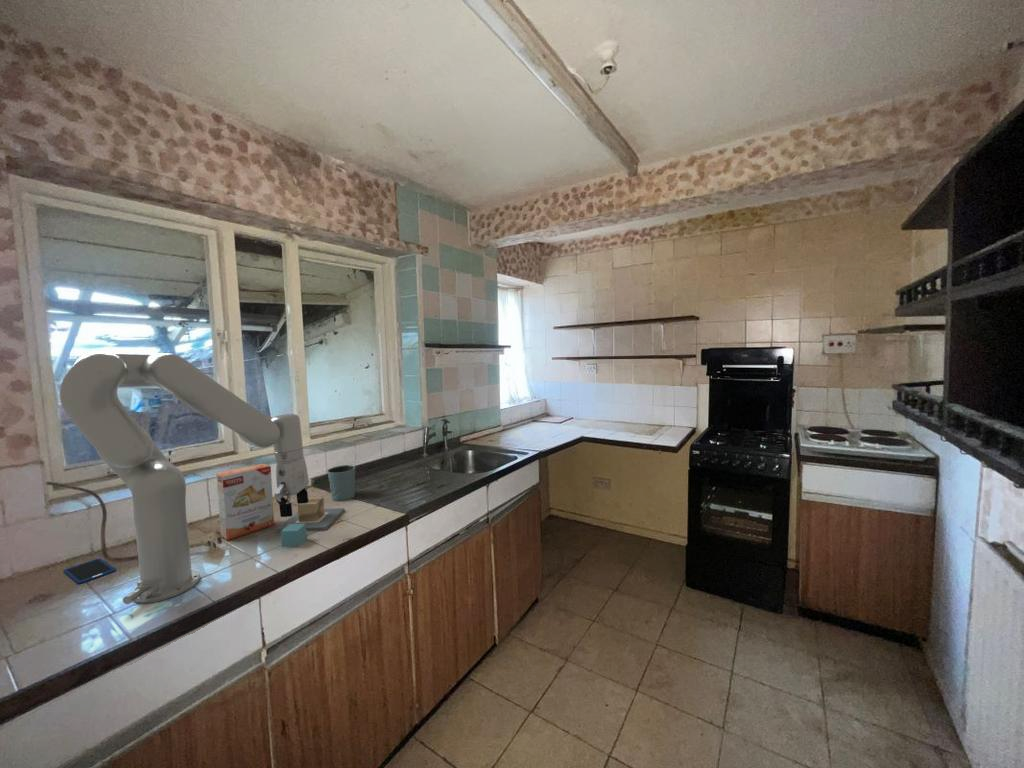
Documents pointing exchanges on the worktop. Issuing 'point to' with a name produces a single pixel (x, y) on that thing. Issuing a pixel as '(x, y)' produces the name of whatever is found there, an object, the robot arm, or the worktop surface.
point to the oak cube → (311, 509)
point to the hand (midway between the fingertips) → (295, 509)
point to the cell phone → (89, 571)
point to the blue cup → (342, 482)
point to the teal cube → (293, 535)
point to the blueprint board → (315, 525)
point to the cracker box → (245, 500)
